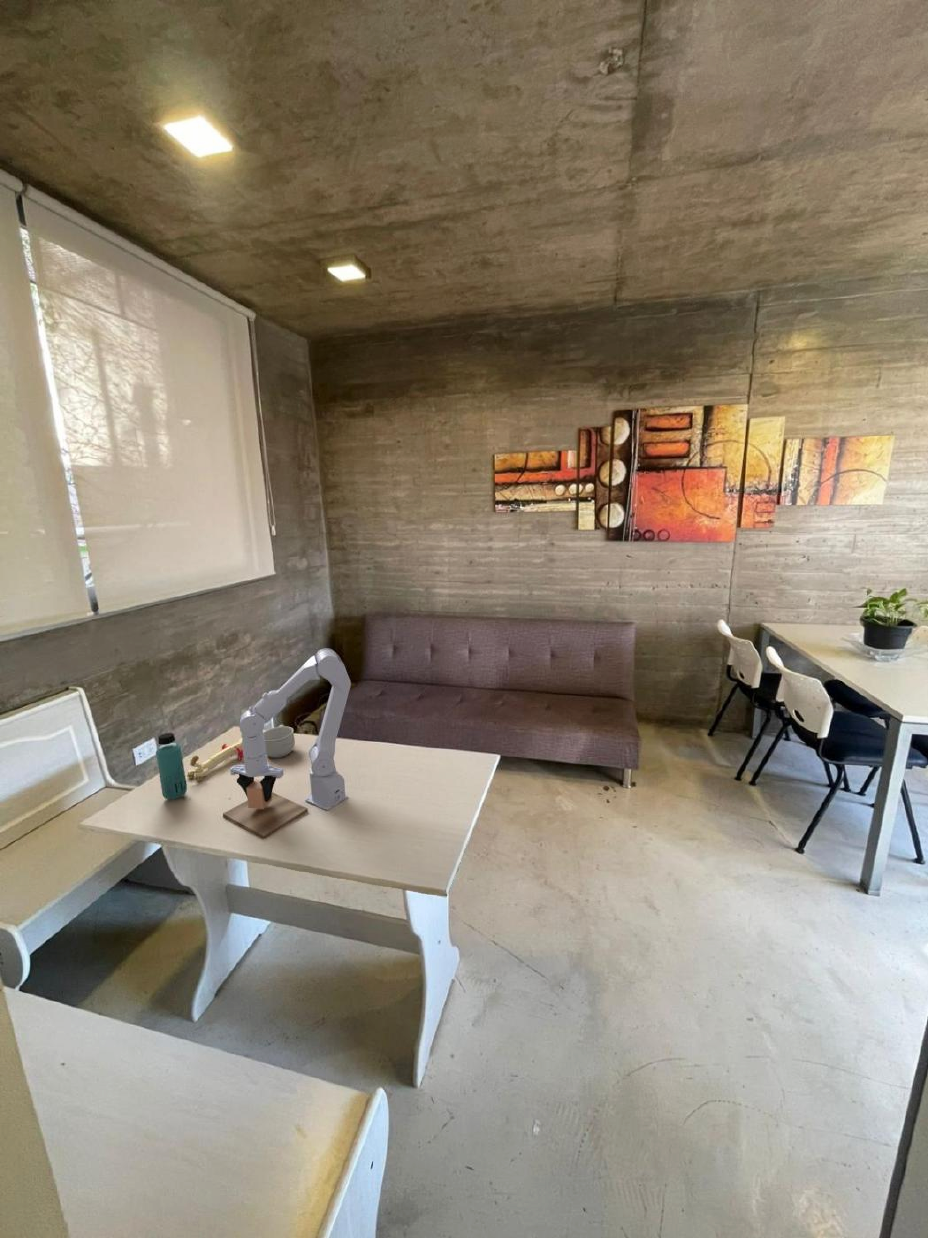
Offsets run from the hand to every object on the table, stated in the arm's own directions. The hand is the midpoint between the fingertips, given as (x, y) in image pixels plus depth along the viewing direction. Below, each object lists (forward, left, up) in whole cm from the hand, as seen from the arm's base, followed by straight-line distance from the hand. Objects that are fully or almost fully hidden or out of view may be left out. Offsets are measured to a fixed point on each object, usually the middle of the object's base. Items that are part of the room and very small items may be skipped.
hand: (259, 799), depth 136 cm
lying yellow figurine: (+35, -12, -4) cm, 37 cm away
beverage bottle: (+28, +9, -4) cm, 30 cm away
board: (-2, 0, -4) cm, 4 cm away
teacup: (+26, -26, -4) cm, 37 cm away
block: (0, 0, -2) cm, 2 cm away
